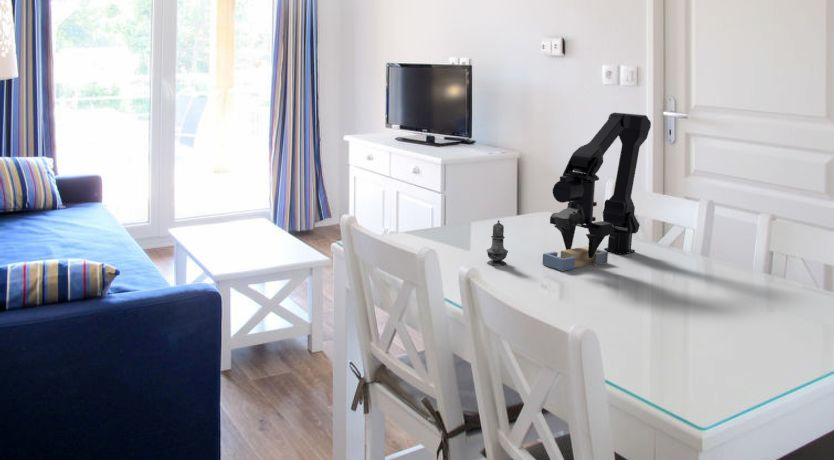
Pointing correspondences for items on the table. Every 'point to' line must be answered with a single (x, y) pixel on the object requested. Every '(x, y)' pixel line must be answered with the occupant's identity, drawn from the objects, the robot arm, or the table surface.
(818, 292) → the table surface
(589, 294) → the table surface
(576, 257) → the slat
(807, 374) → the table surface
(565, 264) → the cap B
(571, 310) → the table surface
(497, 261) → the salt shaker
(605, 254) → the grey u channel
